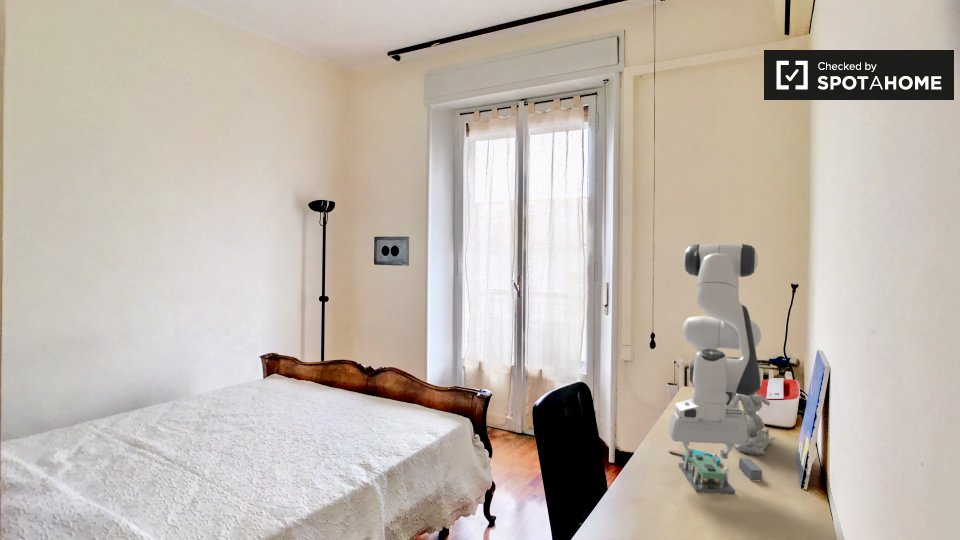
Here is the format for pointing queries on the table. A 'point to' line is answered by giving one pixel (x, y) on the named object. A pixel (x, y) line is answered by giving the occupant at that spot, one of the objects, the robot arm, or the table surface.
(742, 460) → the grey rectangular block
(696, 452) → the toy
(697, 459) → the board
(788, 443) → the table surface
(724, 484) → the chassis
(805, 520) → the table surface
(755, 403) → the figurine
